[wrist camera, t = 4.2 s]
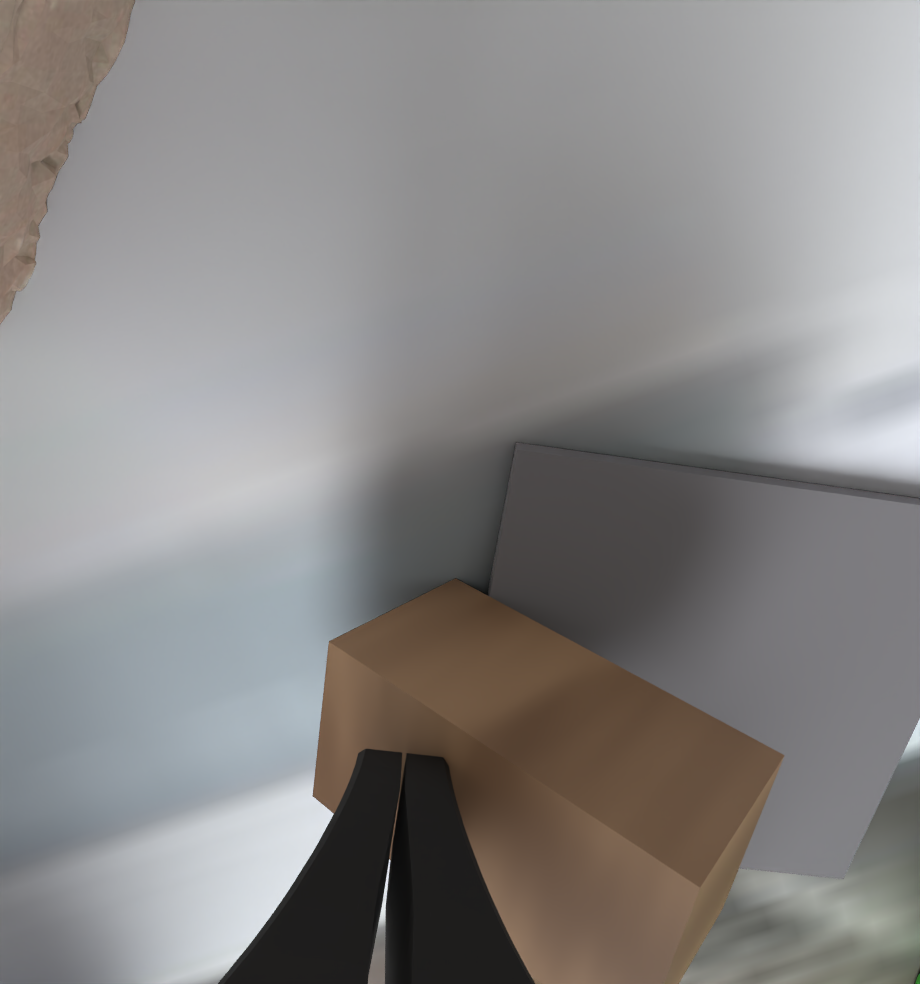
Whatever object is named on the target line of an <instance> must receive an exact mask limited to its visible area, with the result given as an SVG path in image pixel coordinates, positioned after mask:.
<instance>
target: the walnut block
mask: <svg viewBox="0 0 920 984" xmlns="http://www.w3.org/2000/svg"><path fill="white" fill-rule="evenodd" d="M364 749H375V750H384V751H393V752H402V768H401V784H400V792H401V785H402V779H403V773H404V766H405V760H406V753H411V754H419V755H428V756H437V757H443V758H444V759H445V761H446V762H447V764H448V765H449V770H450V775H451V780H452V785H453V789H454V793H455V797H456V800H457V804H458V808H459V811H460V814H461V817H462V821H463V824H464V827H465V830H466V833H467V836H468V839H469V842H470V844H471V847H472V850H473V852H474V855H475V857H476V860H477V863H478V865H479V868H480V871H481V873H482V876H483V878H484V881H485V883H486V885H487V888H488V890H489V893H490V895H491V897H492V899H493V901H494V904H495V906H496V908H497V910H498V913H499V915H500V917H501V919H502V921H503V923H504V925H505V927H506V930H507V932H508V934H509V936H510V938H511V940H512V942H513V944H514V946H515V948H516V949H517V951H518V953H519V955H520V957H521V959H522V961H523V962H524V964H525V966H526V968H527V970H528V972H529V974H530V975H531V976H532V977H533V978H534V979H535V980H537V981H538V982H539V983H540V984H679V982H680V981H681V979H682V977H683V975H684V974H685V972H686V970H687V969H688V967H689V965H690V963H691V962H692V960H693V958H694V957H695V955H696V953H697V951H698V950H699V948H700V946H701V945H702V943H703V941H704V939H705V938H706V936H707V934H708V933H709V931H710V929H711V927H712V926H713V924H714V922H715V921H716V919H717V917H718V915H719V914H720V912H721V910H722V909H723V906H724V904H725V901H726V899H727V896H728V894H729V891H730V889H731V886H732V884H733V881H734V879H735V877H736V874H737V872H738V869H739V867H740V864H741V862H742V859H743V857H744V854H745V852H746V849H747V847H748V845H749V842H750V840H751V837H752V835H753V832H754V830H755V827H756V825H757V822H758V820H759V817H760V815H761V813H762V810H763V808H764V805H765V803H766V800H767V798H768V795H769V793H770V790H771V788H772V785H773V783H774V780H775V778H776V776H777V773H778V771H779V768H780V766H781V763H782V761H783V758H784V756H785V755H783V754H781V753H779V752H778V751H776V750H774V749H772V748H770V747H768V746H766V745H765V744H763V743H761V742H759V741H757V740H755V739H753V738H752V737H750V736H748V735H746V734H744V733H742V732H740V731H739V730H737V729H735V728H733V727H731V726H729V725H727V724H726V723H724V722H722V721H720V720H718V719H716V718H714V717H712V716H711V715H709V714H707V713H705V712H703V711H701V710H699V709H698V708H696V707H694V706H692V705H690V704H688V703H686V702H685V701H683V700H681V699H679V698H677V697H675V696H673V695H672V694H670V693H668V692H666V691H664V690H662V689H660V688H659V687H657V686H655V685H653V684H651V683H649V682H647V681H646V680H644V679H642V678H640V677H638V676H636V675H634V674H633V673H631V672H629V671H627V670H625V669H623V668H621V667H620V666H618V665H616V664H614V663H612V662H610V661H608V660H607V659H605V658H603V657H601V656H599V655H597V654H595V653H594V652H592V651H590V650H588V649H586V648H584V647H582V646H580V645H579V644H577V643H575V642H573V641H571V640H569V639H567V638H566V637H564V636H562V635H560V634H558V633H556V632H554V631H553V630H551V629H549V628H547V627H545V626H543V625H541V624H540V623H538V622H536V621H534V620H532V619H530V618H528V617H527V616H525V615H523V614H521V613H519V612H517V611H515V610H514V609H512V608H510V607H508V606H506V605H504V604H502V603H501V602H499V601H497V600H495V599H493V598H491V597H489V596H488V595H486V594H484V593H482V592H480V591H478V590H476V589H475V588H473V587H471V586H469V585H467V584H465V583H463V582H461V581H460V580H458V579H456V578H455V579H453V580H451V581H449V582H447V583H445V584H443V585H441V586H439V587H437V588H435V589H433V590H431V591H429V592H427V593H425V594H423V595H421V596H419V597H417V598H415V599H413V600H411V601H409V602H407V603H405V604H403V605H401V606H399V607H397V608H395V609H393V610H391V611H389V612H387V613H385V614H383V615H381V616H379V617H377V618H375V619H373V620H371V621H369V622H367V623H365V624H363V625H361V626H359V627H357V628H355V629H353V630H351V631H349V632H347V633H345V634H343V635H341V636H339V637H337V638H335V639H333V640H331V641H329V645H328V655H327V665H326V674H325V684H324V693H323V703H322V712H321V722H320V731H319V741H318V750H317V760H316V769H315V779H314V789H313V797H315V798H316V799H317V800H318V801H319V802H321V803H322V804H323V805H324V806H325V807H327V808H328V809H329V810H330V811H332V812H333V813H335V811H336V809H337V807H338V805H339V803H340V801H341V799H342V797H343V794H344V792H345V790H346V788H347V785H348V783H349V781H350V778H351V775H352V773H353V770H354V767H355V764H356V760H357V756H358V753H359V752H361V751H362V750H364ZM400 792H399V798H400ZM399 798H398V804H397V811H398V805H399ZM397 811H396V817H397ZM396 817H395V824H396ZM395 824H394V830H395ZM394 830H393V837H394ZM393 837H392V843H393ZM392 843H391V849H390V856H389V859H390V860H391V852H392Z"/></svg>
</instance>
